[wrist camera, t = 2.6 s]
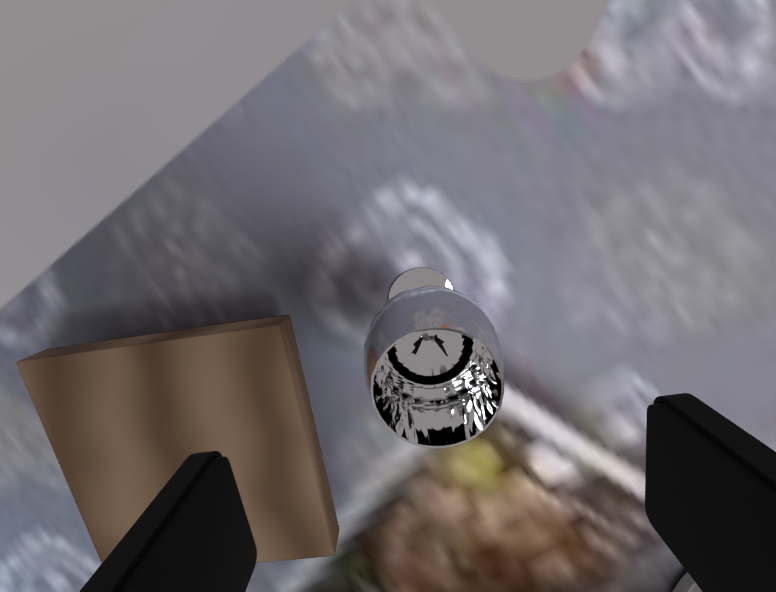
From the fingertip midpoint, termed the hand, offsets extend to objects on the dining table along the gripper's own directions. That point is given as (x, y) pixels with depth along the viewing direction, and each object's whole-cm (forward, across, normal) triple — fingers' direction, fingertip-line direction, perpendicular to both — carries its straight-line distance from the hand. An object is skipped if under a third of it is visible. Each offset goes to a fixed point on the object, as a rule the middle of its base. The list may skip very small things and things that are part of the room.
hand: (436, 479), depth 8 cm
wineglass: (+17, -1, +1) cm, 17 cm away
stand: (+17, +15, +8) cm, 24 cm away
